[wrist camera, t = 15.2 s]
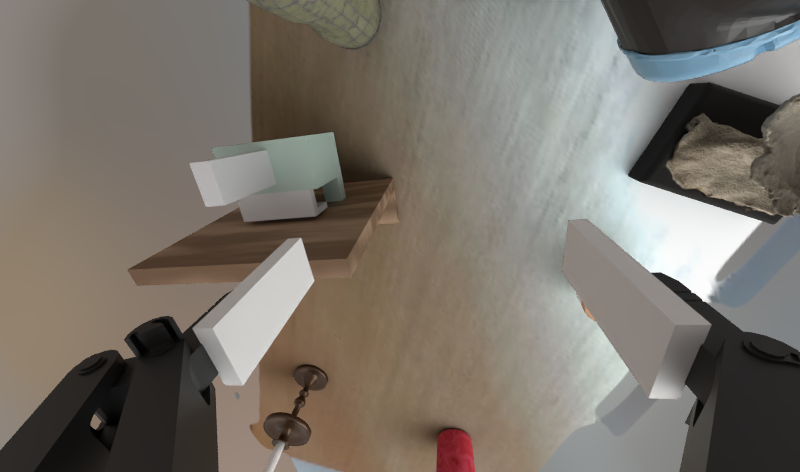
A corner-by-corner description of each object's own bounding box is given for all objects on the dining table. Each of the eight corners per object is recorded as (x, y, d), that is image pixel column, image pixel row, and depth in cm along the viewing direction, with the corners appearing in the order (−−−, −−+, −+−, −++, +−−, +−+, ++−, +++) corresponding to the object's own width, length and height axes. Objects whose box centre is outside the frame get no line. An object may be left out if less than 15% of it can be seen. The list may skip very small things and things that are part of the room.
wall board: (264, 174, 53) (111, 244, 28) (390, 160, 49) (339, 228, 24) (282, 228, 58) (164, 328, 33) (398, 219, 54) (363, 326, 29)
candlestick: (298, 389, 81) (210, 573, 50) (287, 362, 76) (182, 545, 45) (335, 390, 79) (266, 582, 48) (325, 362, 74) (243, 554, 43)
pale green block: (256, 142, 42) (137, 157, 26) (333, 131, 40) (257, 142, 24) (274, 203, 46) (179, 252, 29) (346, 197, 43) (287, 245, 27)
